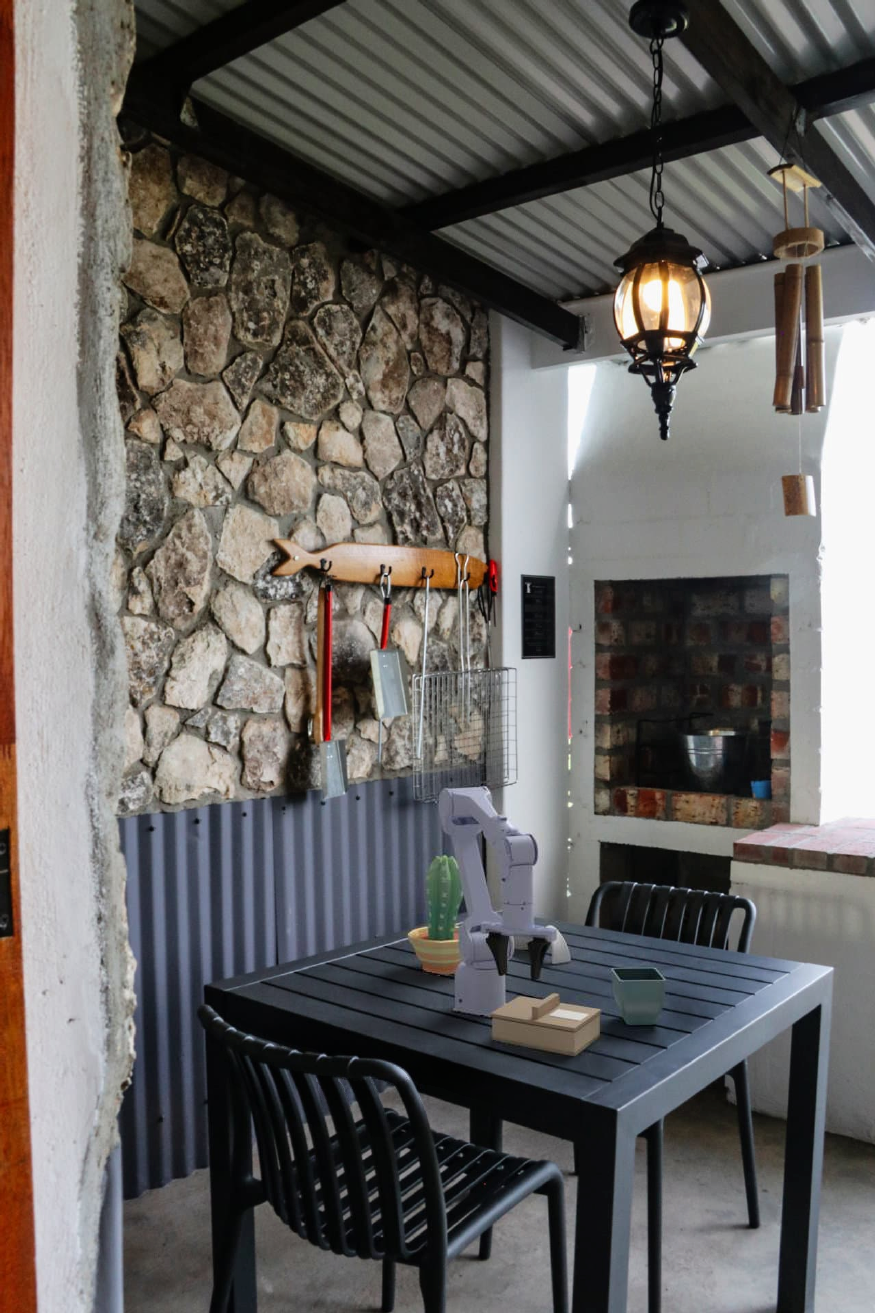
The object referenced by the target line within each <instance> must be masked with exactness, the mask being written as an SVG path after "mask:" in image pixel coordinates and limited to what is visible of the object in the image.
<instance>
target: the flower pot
mask: <svg viewBox="0 0 875 1313" xmlns="http://www.w3.org/2000/svg"><path fill="white" fill-rule="evenodd" d="M610 975H611V982H612V993H613V998H614V1001H615V1004H616V1006H617V1009H618V1011H619V1014H620V1015H621V1017H622V1019H623V1020H624V1022H625V1023H626V1025H629V1026H653V1025H655V1024H656V1022H657V1021H658V1019H659V1017H660V1016H661V1013H662V1011H663V1007H664V1001H665V994H666V987H667V979H666V978H665V977H664V976H663V975H662V974H661V973H660V971H659V970H658V969H657V968H656V967H611V968H610Z"/></svg>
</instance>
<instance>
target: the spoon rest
mask: <svg viewBox="0 0 875 1313" xmlns="http://www.w3.org/2000/svg"><path fill="white" fill-rule="evenodd" d="M546 927H547V928H552V929H557V928H556V927H555V926H554V925H547V926H546ZM513 939H514V950H520V951H522V950H528V946H527V943H528V942H530V941H533V939H531V938H523V937H514V936H513ZM550 947H551V963H552V965H558V964H564V963H569V962H571V955H570V950H569V947H568V945H567V942H566V940H565V938H564V936H563V935H562V934H561V932H560V931H559V929H557V940H555V941H553V942H551V944H550ZM528 951H529V950H528Z"/></svg>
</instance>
